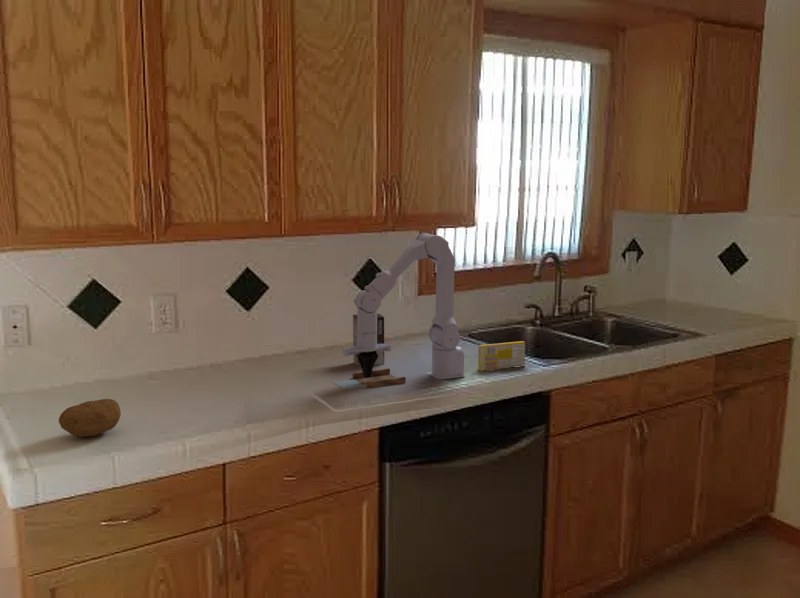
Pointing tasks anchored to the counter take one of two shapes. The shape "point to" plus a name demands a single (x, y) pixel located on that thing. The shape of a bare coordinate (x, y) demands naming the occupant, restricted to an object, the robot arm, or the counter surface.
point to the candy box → (501, 355)
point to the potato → (90, 418)
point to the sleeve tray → (378, 378)
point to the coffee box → (379, 339)
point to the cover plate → (349, 384)
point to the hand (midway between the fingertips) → (366, 377)
